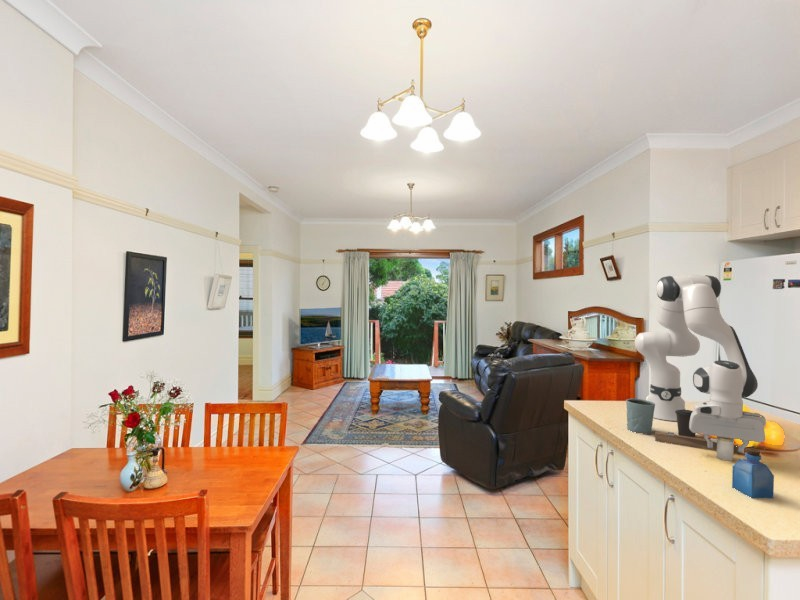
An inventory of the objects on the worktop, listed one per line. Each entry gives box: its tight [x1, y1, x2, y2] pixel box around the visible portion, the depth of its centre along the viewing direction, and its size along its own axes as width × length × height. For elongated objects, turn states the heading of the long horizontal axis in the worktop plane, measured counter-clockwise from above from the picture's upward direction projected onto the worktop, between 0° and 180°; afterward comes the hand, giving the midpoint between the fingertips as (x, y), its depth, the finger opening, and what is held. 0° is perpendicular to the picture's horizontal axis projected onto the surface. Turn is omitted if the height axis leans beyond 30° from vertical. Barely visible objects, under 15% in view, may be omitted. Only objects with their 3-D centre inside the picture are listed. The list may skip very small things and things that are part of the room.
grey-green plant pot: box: [625, 398, 655, 435], centre depth 168 cm, size 10×10×12 cm
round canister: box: [716, 436, 734, 462], centre depth 140 cm, size 4×4×7 cm
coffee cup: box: [675, 409, 697, 438], centre depth 163 cm, size 8×8×10 cm
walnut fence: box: [654, 431, 744, 456], centre depth 151 cm, size 2×26×4 cm, turn 60°
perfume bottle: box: [731, 447, 775, 499], centre depth 115 cm, size 6×6×12 cm
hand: (725, 449), depth 140 cm, fingers open, 7 cm apart
